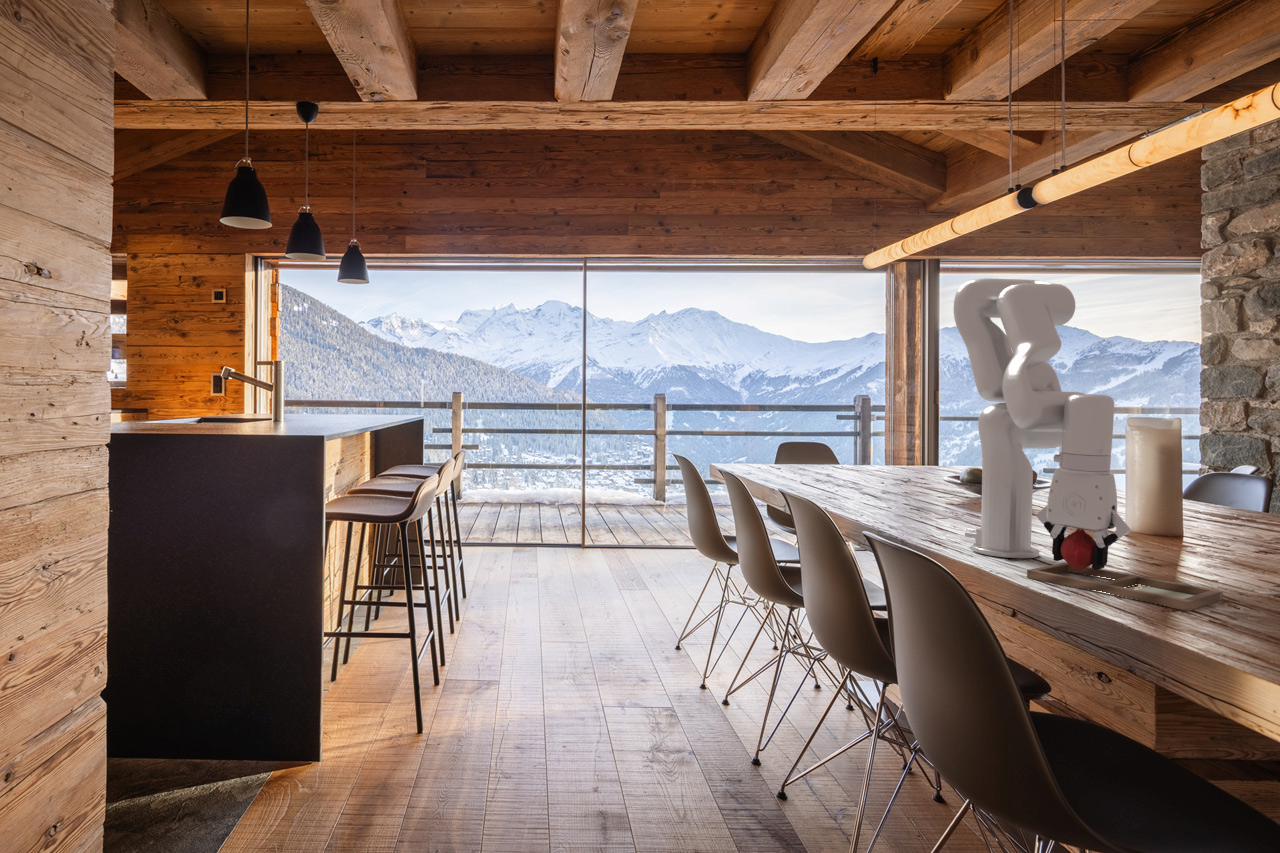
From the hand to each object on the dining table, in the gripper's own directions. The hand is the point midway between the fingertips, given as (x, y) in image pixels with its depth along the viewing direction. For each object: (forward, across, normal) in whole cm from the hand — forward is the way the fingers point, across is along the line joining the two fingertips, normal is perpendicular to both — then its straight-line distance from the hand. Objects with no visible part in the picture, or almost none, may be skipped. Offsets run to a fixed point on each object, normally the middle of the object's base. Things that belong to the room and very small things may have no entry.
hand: (1078, 563), depth 129 cm
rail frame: (+3, +7, -1) cm, 8 cm away
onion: (+2, 0, 0) cm, 2 cm away
